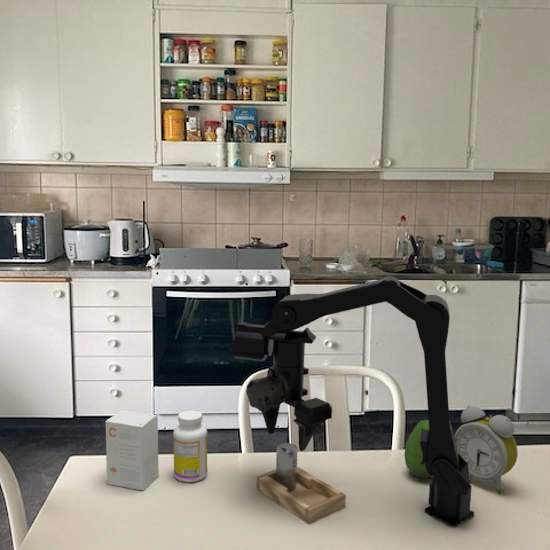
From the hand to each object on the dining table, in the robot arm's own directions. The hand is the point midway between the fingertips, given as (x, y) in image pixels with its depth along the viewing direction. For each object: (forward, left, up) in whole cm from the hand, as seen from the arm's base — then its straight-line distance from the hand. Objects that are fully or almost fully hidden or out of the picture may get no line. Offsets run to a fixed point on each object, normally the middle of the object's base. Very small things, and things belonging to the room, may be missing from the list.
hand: (286, 441), depth 116 cm
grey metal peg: (0, 0, -9) cm, 9 cm away
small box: (+20, +22, -10) cm, 31 cm away
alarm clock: (-22, -34, -10) cm, 42 cm away
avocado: (-13, -26, -10) cm, 31 cm away
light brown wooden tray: (-4, 0, -10) cm, 10 cm away
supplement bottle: (+15, +12, -10) cm, 22 cm away
